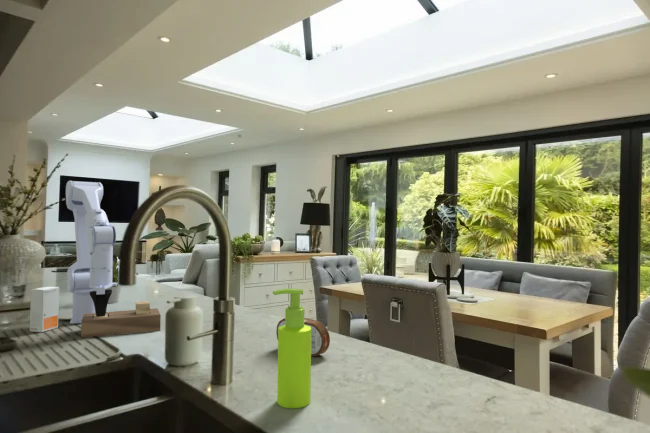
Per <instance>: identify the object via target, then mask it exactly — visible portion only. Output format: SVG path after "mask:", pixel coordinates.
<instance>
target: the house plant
mask: <svg viewBox="0 0 650 433" xmlns="http://www.w3.org/2000/svg"><path fill="white" fill-rule="evenodd" d="M118 266H119V261H117V262H115V259H114V260H113V270H112V283H117V286H112V287H109V288H107V289H112V294H111V296H110V298H109V300H108V304H115V303H119V300H120V296H121V290H122V286H121V287H120V286H118V285H119V284H118V282H119V281H118V279H119V276H118ZM105 290H106V289H105Z"/></svg>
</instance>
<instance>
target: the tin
mask: <svg viewBox="0 0 650 433" xmlns="http://www.w3.org/2000/svg"><path fill="white" fill-rule="evenodd" d="M284 325H285V317H284V318H281V320H280V321H278V323H277V325H276V330H275V331H276V338H277V340H278V328H279V327H281V326H284ZM304 325H306V326H309V327H311V357H317V356H319V355H322V354H324V353H325V352H327V351H328V350H329V347H330V345H331V344H330V343H331V340H330V339H331V336H330V333H329V331H328V329H327V327H326V326H325V324H324V323H323V322H321V321H319V320H317V319H311V318H307V317H304Z"/></svg>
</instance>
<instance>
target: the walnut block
mask: <svg viewBox="0 0 650 433" xmlns="http://www.w3.org/2000/svg"><path fill="white" fill-rule="evenodd" d="M106 314H108V317H99V318H93V317H94V315H96V313H87V314H83V318H82V323H81V332H80V333H81V336H80V337H81V339H83V338H93V336H95V337H104V336H105V337H106V336H116V335H117V336H118V335H124V334H126V335H127V334H136V333H146V332H147V333H148V332H157V331H161V316H162V315H161V313H160V311H159V309H158V308H150V314H138V315H136V309H131V310H130V309H128V310H118V311H117V310H116V311H115V310H114V311H106Z"/></svg>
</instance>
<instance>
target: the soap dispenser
mask: <svg viewBox="0 0 650 433" xmlns="http://www.w3.org/2000/svg"><path fill="white" fill-rule="evenodd" d="M272 294H273V295H274V296H278V295H284V294H287V295H289V297H290V299H289V300H290V302H289V303H290V305H289V306H287V307H286V308H285V317H284V318H285V325H284V326H281V327H279V328H278V339H277V396H276V397H277V400H276V402H277V404H278V405H279V406H280V407H282V408H285V409H302V408H304V407H307V406H309V404H311V393H312V391H311V387H312V386H311V384H312V382H311V380H312V379H311V377H312V376H311V374H312V372H311V371H312V356H311V327H309V326H306V325H304V318H305V307H303V306H301V295H304V289H300V288H281V289H276V290H273V291H272Z"/></svg>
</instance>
